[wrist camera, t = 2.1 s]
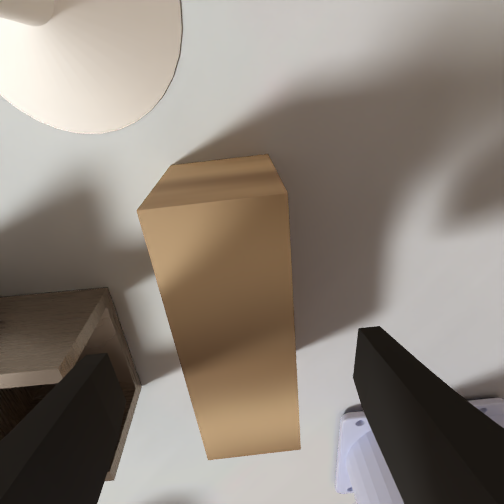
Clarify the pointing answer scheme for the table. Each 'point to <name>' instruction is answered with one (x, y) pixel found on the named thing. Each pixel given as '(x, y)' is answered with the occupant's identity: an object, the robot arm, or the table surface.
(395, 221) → the table surface
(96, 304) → the bracket
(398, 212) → the table surface
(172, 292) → the wooden block
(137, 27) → the champagne flute
